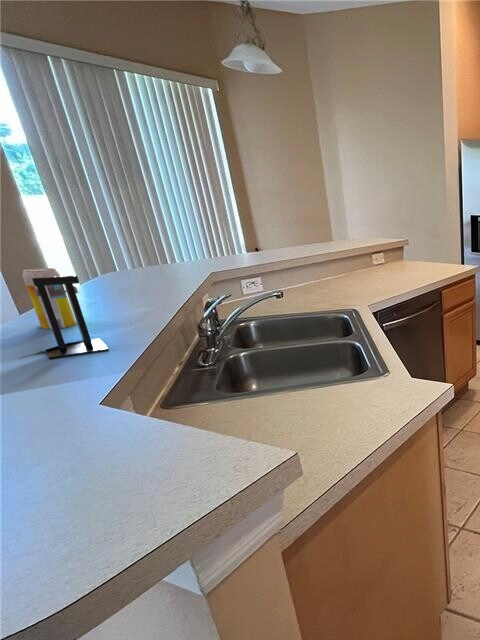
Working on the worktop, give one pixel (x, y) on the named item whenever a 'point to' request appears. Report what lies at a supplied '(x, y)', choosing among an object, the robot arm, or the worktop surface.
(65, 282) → the lever
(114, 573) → the worktop surface
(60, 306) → the yellow pill bottle
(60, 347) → the black stand frame
